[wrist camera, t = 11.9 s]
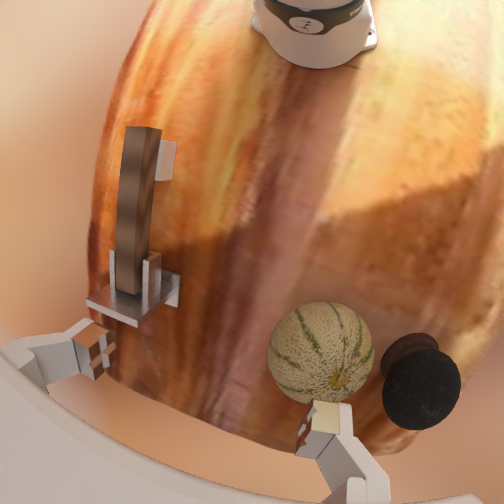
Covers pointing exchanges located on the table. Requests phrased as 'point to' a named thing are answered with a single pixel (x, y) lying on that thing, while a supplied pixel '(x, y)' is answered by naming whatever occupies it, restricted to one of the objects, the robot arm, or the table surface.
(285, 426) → the table surface
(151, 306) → the bracket
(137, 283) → the walnut rail
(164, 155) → the pale grey block
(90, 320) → the robot arm
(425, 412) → the black rounded lump
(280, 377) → the cantaloupe
